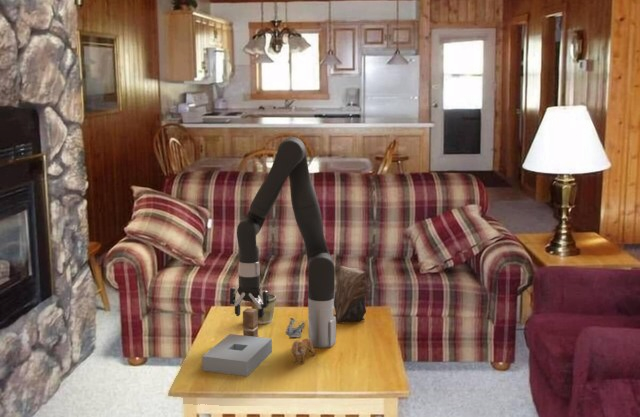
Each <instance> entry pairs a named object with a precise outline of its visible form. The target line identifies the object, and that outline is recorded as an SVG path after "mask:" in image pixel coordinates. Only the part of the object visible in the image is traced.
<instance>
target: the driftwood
mask: <svg viewBox="0 0 640 417" xmlns="http://www.w3.org/2000/svg"><path fill="white" fill-rule="evenodd" d="M289 319H290V321H289V323H288V326H287V328H286V330H285V335H286V336H288V337H289V339H291V338H301V337H302V331H303V327H304V326H305V324H306V322H305V321H304V320H301V324H299V325H298V326H296V327H295V326H294V327H293V325H295V323H296V322H297V323H298V321H297V320H296V319H295V318H293V317H290V318H289Z"/></svg>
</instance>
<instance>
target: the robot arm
mask: <svg viewBox="0 0 640 417" xmlns="http://www.w3.org/2000/svg"><path fill="white" fill-rule="evenodd" d="M287 179H289V186H290V187H289V188H290V202H291V207H292V210H293V211H292V212H293V215H294V218H295V222H296V225H297V227H298V231H299V232H300V235H301V237H302V239H303V243H304V246H305V251H306V253H305V254H306V260H307V261H306V262H307V269H308V270H307V271H308V277H307V278H308V285H307V286H308V287H307V288H308V290H307V292H308V293H307V297H308V298H307V307H308V309H307V310H308V312H307V313H308V317H307V318H308V320H307V321H308V339H310V340H311V341H312V346H313V348H320V349H321V348H322V349H323V348H333V346H334V345H335V343H337V321H336V316H335V308H334V299H335V291H336V290H335V287H336V284H335V279H336V277H335V275H336V271H335V270H336V268H335V264H334V261H333V258H332V256H331V255H332V254H330V251H329V248H328V245H327V242H326V239H325V236H324V235H325V234H324V225H323V223H324V222H323V217H322V212H321V207H320V203H319V199H318V196H317V194H316V189H315V187H314V184H313V181H312V178H311V174H310V171H309V165H308V157H307V150H306V146H305V144H304V141H302V140H301V139H300V138H298V137H295V136H289V137H287V138H285V139H284V140H282V141H281V142H280V143H279V145H278V148H277V151H276V154H275V157H274V160H273V164H272V166H271V168H270V170H269V172H268V174H267V176H266V178H265V179H264V181H263V183H262V184H261V186H260V187H259V189H258V191H257V193H256V194H255V196H254V197H253V199H252V201H251V203H250V206H249V210H248V212H247V214H246V215H245V217H244V219H243V220H241V221H240V222H239V223H238V225H237V227H236V239H237V245H238V271H237V273H238V287H236V286H232V287H231V288H230V289H229V304H230V305H233V306H234V314H235V316H236V317H239V316H240V315H241V303H242V301H244V302H250V303H251V302H254V303H255V304H256V305H257V306H258V308H259V309H258V319H261V318H262V317H263V315H264V308H266V307H267V306H268V305H269V298H268V293H269V290H268V289H265V290H261V288H260V283H261V282H260V281H261V280H260V272H261V271H260V269H261V268H260V252H259V247H258V246H259V245H257V235H258V234H259V233H260V231H261V230H262V228H263V226H264V224H265V221H266V219H267V216H268V215H269V214H270V212H271V210H272V209H273V206H274V205H275V203H276V201H277V199H278V197H279V194H280V192H281V189H282V188H283V185H284V184H285V182H286V180H287ZM237 293H238V294H239V297H238V298H237V296H236V295H237ZM260 294H261V296H262V297H263V303H262V301H261V299H260V297H259V295H260ZM236 298H237V300H236Z"/></svg>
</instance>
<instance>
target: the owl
mask: <svg viewBox="0 0 640 417" xmlns="http://www.w3.org/2000/svg"><path fill="white" fill-rule="evenodd" d="M338 269H339V270H338V274H337V277H336V290H335V291H336V292H335V294H334V314H335V317H336V324H344V323H345V324H346V323H354V322H362V321H365V318H364V316H365V314H366V313H367V308H366V304H367V303H366V298H367V295H368V289H367V278H366V277H367V271H365V270H362V269H361V267H347V266H345V265H339V268H338Z"/></svg>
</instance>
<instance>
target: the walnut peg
mask: <svg viewBox="0 0 640 417" xmlns="http://www.w3.org/2000/svg"><path fill="white" fill-rule="evenodd" d="M242 328H243V329H242V334H243V335H244V336H253V337H259V325H258V316H257V309H252V308H249V307H247V308H245V309H244V310H243V311H242Z"/></svg>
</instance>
